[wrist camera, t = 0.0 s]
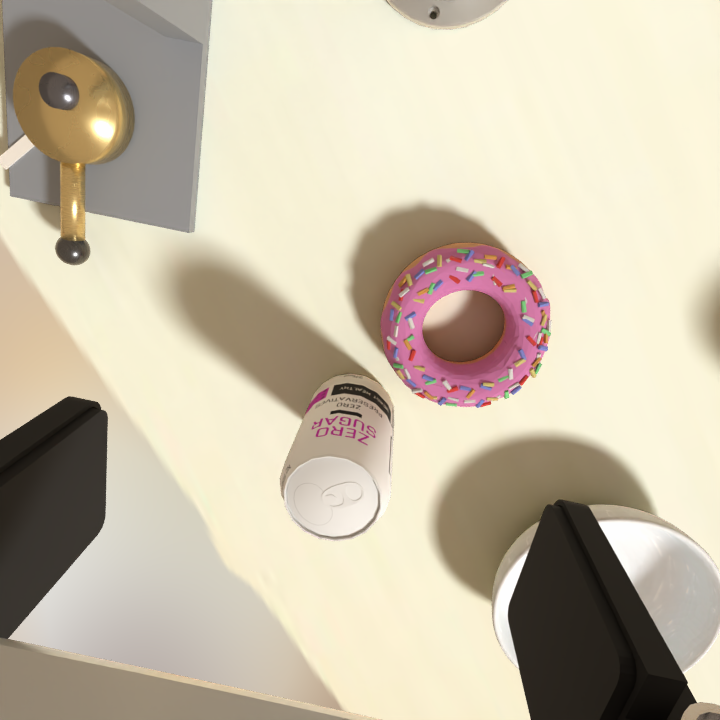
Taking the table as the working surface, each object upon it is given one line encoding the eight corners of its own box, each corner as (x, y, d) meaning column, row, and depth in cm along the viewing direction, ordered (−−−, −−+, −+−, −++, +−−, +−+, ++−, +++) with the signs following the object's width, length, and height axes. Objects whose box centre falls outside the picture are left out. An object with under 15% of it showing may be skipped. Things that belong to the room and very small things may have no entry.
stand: (-2, -77, 39) (-189, -195, 27) (214, -34, 39) (126, -133, 27) (10, 193, 46) (-135, 199, 34) (194, 231, 46) (116, 251, 34)
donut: (398, 403, 50) (397, 426, 45) (367, 258, 46) (363, 267, 41) (550, 378, 48) (566, 400, 43) (533, 223, 44) (549, 229, 39)
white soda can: (331, 457, 52) (304, 560, 38) (297, 387, 50) (256, 468, 36) (406, 433, 51) (407, 530, 37) (375, 359, 49) (363, 433, 34)
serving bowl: (734, 555, 53) (780, 608, 46) (582, 668, 59) (604, 729, 53) (583, 439, 50) (610, 478, 43) (441, 571, 56) (446, 622, 50)
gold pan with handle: (38, 46, 41) (-1, 33, 37) (136, 66, 41) (108, 55, 37) (42, 252, 46) (9, 259, 42) (129, 270, 46) (104, 278, 42)
